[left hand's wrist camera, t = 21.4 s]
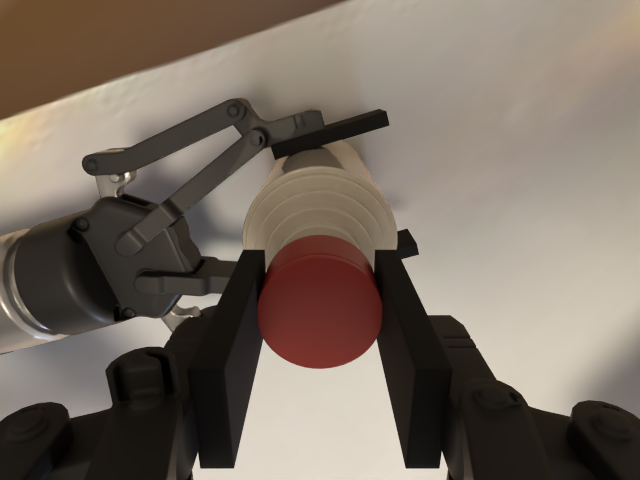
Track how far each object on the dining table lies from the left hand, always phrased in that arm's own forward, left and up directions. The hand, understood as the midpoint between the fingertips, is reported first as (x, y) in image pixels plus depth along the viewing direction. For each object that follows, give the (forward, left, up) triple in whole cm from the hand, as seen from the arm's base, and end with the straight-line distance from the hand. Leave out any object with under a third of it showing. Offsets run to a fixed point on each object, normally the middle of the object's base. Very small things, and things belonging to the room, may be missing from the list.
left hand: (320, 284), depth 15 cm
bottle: (0, 0, -17) cm, 17 cm away
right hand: (-5, +1, -11) cm, 12 cm away
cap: (0, 0, +2) cm, 2 cm away
